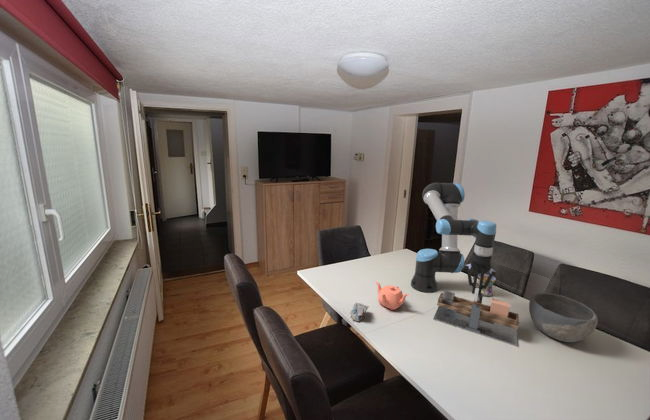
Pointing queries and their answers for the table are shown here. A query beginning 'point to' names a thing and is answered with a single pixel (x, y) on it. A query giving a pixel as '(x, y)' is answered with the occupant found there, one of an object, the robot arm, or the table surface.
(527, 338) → the table surface
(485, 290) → the mug
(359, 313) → the mineral specimen
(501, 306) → the block
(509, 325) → the beam
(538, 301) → the bowl
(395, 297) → the teapot
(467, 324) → the stand
